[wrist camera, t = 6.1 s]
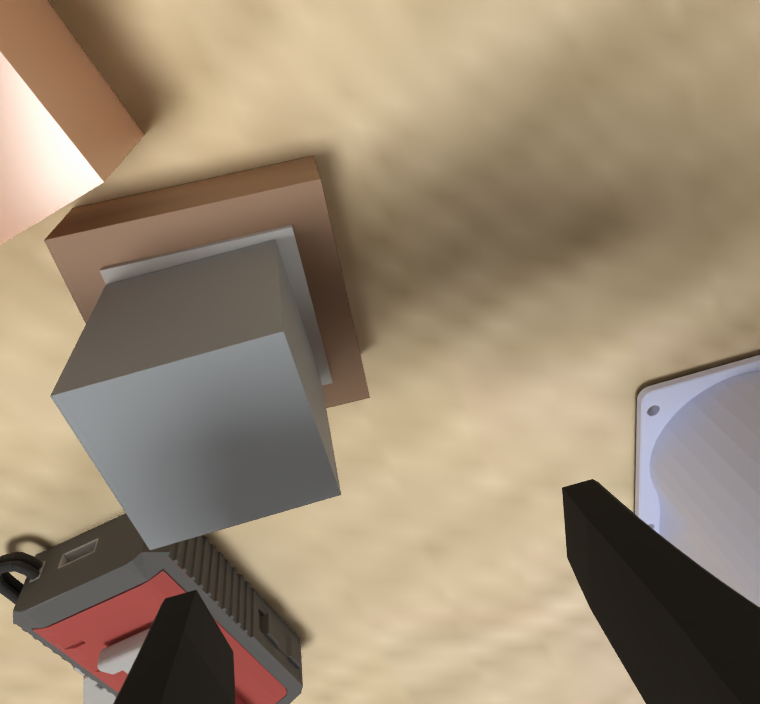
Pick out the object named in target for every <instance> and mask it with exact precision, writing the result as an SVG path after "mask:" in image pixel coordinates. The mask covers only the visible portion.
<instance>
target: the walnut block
mask: <svg viewBox="0 0 760 704" xmlns="http://www.w3.org/2000/svg"><path fill="white" fill-rule="evenodd" d="M273 239H275V240H276V243H277V246H278V249H279V252H280V255H281V258H282V261H283V264H284V267H285V270H286V273H287V276H288V279H289V282H290V285H291V288H292V291H293V294H294V297H295V301H296V304H297V307H298V310H299V313H300V316H301V319H302V322H303V325H304V328H305V331H306V334H307V337H308V340H309V343H310V346H311V349H312V352H313V355H314V359H315V362H316V365H317V368H318V371H319V374H320V377H321V382H322V388H323V394H324V399H325V405H326V408H329V407H333V406H337V405H342V404H346V403H350V402H354V401H358V400H362V399H366V398H370V396H369V392H368V387H367V383H366V378H365V374H364V369H363V365H362V361H361V356H360V352H359V347H358V343H357V338H356V334H355V330H354V325H353V321H352V316H351V312H350V307H349V303H348V298H347V294H346V290H345V285H344V281H343V276H342V272H341V267H340V263H339V259H338V254H337V250H336V245H335V241H334V236H333V232H332V227H331V223H330V219H329V214H328V210H327V205H326V201H325V196H324V192H323V187H322V183H321V179H320V176H319V173H318V170H317V167H316V164H315V161H314V158H313V156H309V157H305V158H300V159H296V160H291V161H287V162H282V163H278V164H273V165H268V166H264V167H259V168H255V169H250V170H246V171H241V172H236V173H232V174H227V175H223V176H218V177H214V178H209V179H205V180H200V181H195V182H191V183H186V184H182V185H177V186H173V187H168V188H163V189H159V190H154V191H150V192H145V193H141V194H136V195H131V196H127V197H122V198H118V199H113V200H109V201H104V202H100V203H95V204H90V205H86V206H81V207H77V208H72V209H71V211H70V212H69V213H68V214H67V215H66V216H65V217H64V219H63V220H62V221H61V222H60V223H59V224H58V225H57V226H56V228H55V229H54V230H53V231H52V232H51V233H50V234H49V235H48V237H47V238H46V239H45V240H44V241H45V243H46V245H47V247H48V249H49V251H50V253H51V255H52V257H53V259H54V261H55V263H56V265H57V267H58V269H59V271H60V273H61V275H62V277H63V279H64V281H65V283H66V285H67V287H68V289H69V291H70V293H71V295H72V297H73V299H74V301H75V303H76V305H77V307H78V309H79V311H80V313H81V315H82V317H83V319H84V321H85V323H86V324H87V322H88V320H89V318H90V316H91V314H92V312H93V310H94V308H95V306H96V304H97V301H98V299H99V297H100V295H101V293H102V291H103V289H104V287H105V285H108V284H112V283H115V282H119V281H123V280H126V279H130V278H134V277H137V276H141V275H145V274H149V273H152V272H156V271H160V270H163V269H167V268H171V267H174V266H178V265H182V264H185V263H189V262H193V261H196V260H200V259H204V258H207V257H211V256H215V255H218V254H222V253H226V252H229V251H233V250H237V249H240V248H244V247H248V246H251V245H255V244H259V243H262V242H266V241H270V240H273Z"/></svg>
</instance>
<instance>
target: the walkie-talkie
mask: <svg viewBox="0 0 760 704" xmlns="http://www.w3.org/2000/svg"><path fill="white" fill-rule="evenodd" d="M215 549H216V547H215V546H214V545H210V544H209V543H208V538H207V537H203V536H202V535H201V536H197V537H194V538H191V539H187V540H184V541H180V542H177V543H173V544H170V545H167V546H163V547H160V548H156V549H153V550H149V548H148V546H147V545H146V543H145V542H144V540H143V539H142V537H141V536H140V534H139V533H138V531H137V529H136V528H135V526H134V525H133V523H132V522H131V520H130V519H129V517H128V516H127V514H124V515H121V516H119V517H117V518H115V519H113V520H111V521H108V522H106V523H104V524H102V525H100V526H98V527H95V528H93V529H91V530H89V531H87V532H85V533H83V534H80V535H78V536H76V537H74V538H72V539H70V540H67V541H65V542H63V543H61V544H59V545H57V546H54V547H52V548H50V549H48V550H46V551H44V552H41V553H39V554H37V555H36V556H35V557H33V556H31V555H28V554H26V553H23V552H15V553H10V554H6V555H2V556H1V557H0V593H1V594H2V595H4V596H5V597H6V598H8V599H9V600H10V601H12V602H13V603H14V604H16V605H15V607H14V610H13V623H14V624H17V625H18V626H20V627H21V628H22V630H24V631H25V632H28V633H29V634H31V635H32V636H33V638H35V639H37V640H39V641H40V642H42V643H43V645H44V646H46V647H49V648H50V649H51V650H53V652H54V653H56V654H58V655H60V656H61V657H62V659H64V660H65V661H68V662H69V663H71V664H72V666H73V669H74V670H76V671H77V672H78V673H80V674H81V675H83V676H84V704H113V703H114V701H115V699H116V697H117V695H118V693H119V691H120V689H121V687H122V685H123V683H124V681H125V679H126V677H127V675H128V673H129V671H130V669H131V667H132V665H133V663H134V661H135V659H136V657H137V655H138V653H139V651H140V648H141V646H142V644H143V642H144V640H145V638H146V636H147V634H148V632H149V629H150V627H151V625H152V623H153V621H154V619H155V617H156V615H157V613H158V610H159V608H160V606H161V604H162V603H163V601H164V599H165V598H168V597H172V596H175V595H179V594H183V593H186V592H190V591H193V590H197V591H198V593H199V595H200V596H201V598H202V600H203V601H204V603H205V605H206V606H207V608H208V610H209V612H210V613H211V615H212V617H213V618H214V620H215V622H216V623H217V625H218V627H219V628H220V630H221V632H222V633H223V635H224V637H225V638H226V640H227V642H228V643H229V645H230V647H231V648H232V650H233V655H234V676H235V704H290V703H291V702H292V701H293V700H294V699H295V698H296V697H297V696H298V695H299V694H301V691H302V687H303V682H302V664H301V647H300V638H299V637H298V636H297V635H296V634H295V633H294V632H293V630H292V629H291V628H290V627H289V626H288V625H287V624H286V623H285V622H284V621H283V620H282V619H281V617H280V616H279V615H278V614H277V613H276V612H275V611H274V610H273V609H272V608H271V607H270V606H269V604H268V603H267V602H266V601H265V600H264V599H263V598H262V597H261V596H260V595H259V594H258V593H257V591H256V590H255V589H251V588H250V587H249V583H248V582H244V580H243V576H242V575H238V574H237V573H236V569H235V568H232V567H231V566H230V562H229V561H228V560H226V561H225V560H224V559H223V555H222V554H221V553H218V552H217V551H216V550H215ZM12 571H16V572H18V573H21V574H24V575H25V576H27V578H26V580H25V583H24V585H23V584H22V583H21V582H19V581H18V580H17V579H16V578H14V577H13V576H12V575H11V574H10V573H9V572H12Z"/></svg>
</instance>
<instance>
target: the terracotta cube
mask: <svg viewBox="0 0 760 704" xmlns="http://www.w3.org/2000/svg"><path fill="white" fill-rule="evenodd" d="M143 136H144V134H143V133H142V131H141V130H140V128H139V127H138V126H137V124H136V123H135V122H134V120H133V119H132V117H131V116H130V115H129V113H128V112H127V110H126V109H125V108H124V106H123V105H122V103H121V102H120V101H119V99H118V98H117V97H116V95H115V94H114V92H113V91H112V90H111V88H110V87H109V85H108V84H107V83H106V81H105V80H104V78H103V77H102V76H101V74H100V73H99V72H98V70H97V69H96V67H95V66H94V65H93V63H92V62H91V60H90V59H89V58H88V56H87V55H86V53H85V52H84V51H83V49H82V48H81V47H80V45H79V44H78V42H77V41H76V40H75V38H74V37H73V35H72V34H71V33H70V31H69V30H68V28H67V27H66V26H65V24H64V23H63V22H62V20H61V19H60V17H59V16H58V15H57V13H56V12H55V10H54V9H53V8H52V6H51V5H50V3H49V2H48V1H47V0H0V245H1V244H3V243H5V242H6V241H8V240H10V239H11V238H13V237H15V236H16V235H18V234H20V233H21V232H23V231H25V230H26V229H28V228H29V227H31V226H33V225H34V224H36V223H38V222H39V221H41V220H43V219H44V218H46V217H48V216H49V215H51V214H53V213H54V212H56V211H57V210H59V209H61V208H62V207H64V206H66V205H67V204H69V203H71V202H72V201H74V200H76V199H77V198H79V197H81V196H82V195H84V194H85V193H87V192H89V191H90V190H92V189H94V188H95V187H97V186H99V185H100V184H102V183H104V182H105V180H106V179H107V178H108V177H109V176H110V175H111V173H112V172H113V171H114V170H115V169H116V168H117V167H118V165H119V164H120V163H121V162H122V161H123V160H124V158H125V157H126V156H127V155H128V154H129V153H130V151H131V150H132V149H133V148H134V147H135V146H136V144H137V143H138V142H139V141H140V140H141V139H142V137H143Z"/></svg>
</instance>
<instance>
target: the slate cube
mask: <svg viewBox="0 0 760 704" xmlns="http://www.w3.org/2000/svg"><path fill="white" fill-rule="evenodd" d="M51 398H52V399H53V401H54V403H55V404H56V406H57V407H58V409H59V410H60V412H61V413H62V415H63V416H64V418H65V420H66V421H67V423H68V424H69V426H70V427H71V429H72V430H73V432H74V433H75V435H76V437H77V438H78V440H79V441H80V443H81V444H82V446H83V447H84V449H85V451H86V452H87V454H88V455H89V457H90V458H91V460H92V461H93V463H94V464H95V466H96V468H97V469H98V471H99V472H100V474H101V475H102V477H103V478H104V480H105V481H106V483H107V485H108V486H109V488H110V489H111V491H112V492H113V494H114V495H115V497H116V498H117V500H118V502H119V503H120V505H121V506H122V508H123V509H124V511H125V512H126V514H127V516H128V517H129V519H130V520H131V522H132V523H133V525H134V526H135V528H136V529H137V531H138V533H139V534H140V536H141V537H142V539H143V540H144V542H145V543H146V545H147V546H148V548H149V550H153V549H156V548H160V547H163V546H167V545H170V544H173V543H177V542H180V541H184V540H187V539H191V538H194V537H197V536H201V535H204V534H208V533H211V532H215V531H218V530H222V529H225V528H228V527H232V526H235V525H239V524H242V523H246V522H249V521H253V520H256V519H259V518H263V517H266V516H270V515H273V514H277V513H280V512H284V511H287V510H290V509H294V508H297V507H301V506H304V505H308V504H311V503H314V502H318V501H321V500H325V499H328V498H332V497H335V496H339V495H341V491H340V486H339V480H338V474H337V468H336V463H335V457H334V451H333V445H332V440H331V434H330V428H329V422H328V417H327V411H326V405H325V399H324V394H323V388H322V382H321V377H320V374H319V371H318V368H317V365H316V362H315V359H314V355H313V352H312V349H311V346H310V343H309V340H308V337H307V334H306V331H305V328H304V325H303V322H302V319H301V316H300V313H299V310H298V307H297V304H296V301H295V297H294V294H293V291H292V288H291V285H290V282H289V279H288V276H287V273H286V270H285V267H284V264H283V261H282V258H281V255H280V252H279V249H278V246H277V243H276V240H275V239H273V240H270V241H266V242H262V243H259V244H255V245H251V246H248V247H244V248H240V249H237V250H233V251H229V252H226V253H222V254H218V255H215V256H211V257H207V258H204V259H200V260H196V261H193V262H189V263H185V264H182V265H178V266H174V267H171V268H167V269H163V270H160V271H156V272H152V273H149V274H145V275H141V276H137V277H134V278H130V279H126V280H123V281H119V282H115V283H112V284H108V285H105V287H104V289H103V291H102V293H101V295H100V297H99V299H98V301H97V304H96V306H95V308H94V310H93V312H92V314H91V316H90V318H89V320H88V322H87V324H86V326H85V328H84V330H83V332H82V334H81V336H80V338H79V340H78V342H77V344H76V346H75V348H74V350H73V352H72V354H71V356H70V358H69V360H68V362H67V364H66V366H65V368H64V370H63V372H62V374H61V376H60V378H59V380H58V382H57V384H56V386H55V388H54V390H53V392H52V394H51Z"/></svg>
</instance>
